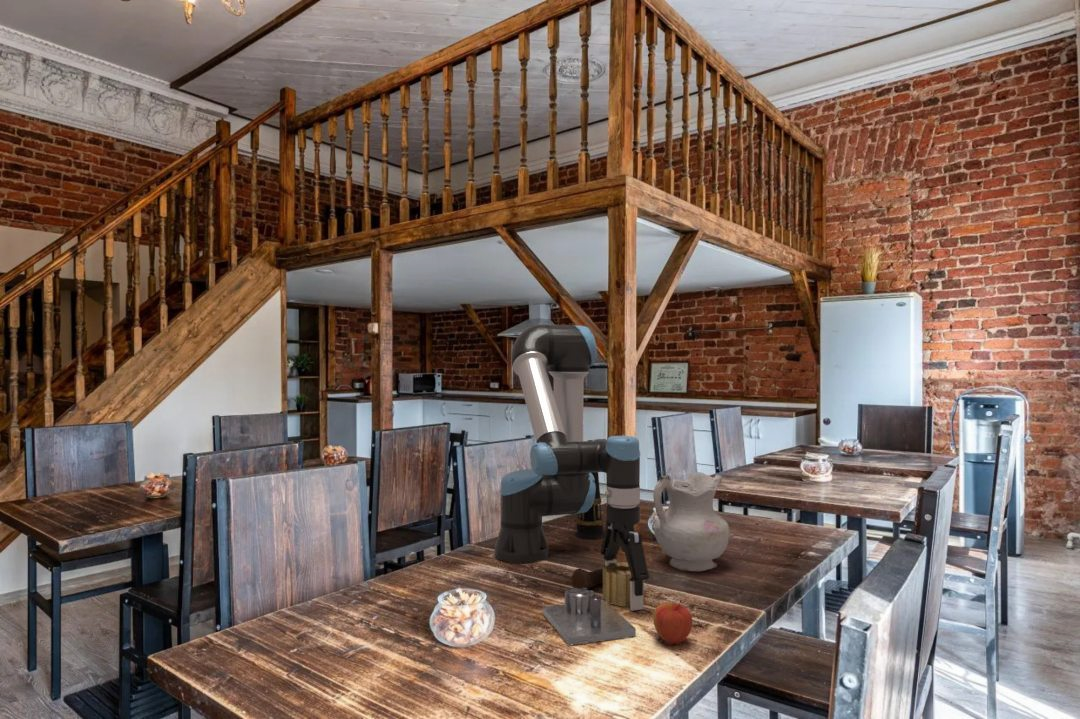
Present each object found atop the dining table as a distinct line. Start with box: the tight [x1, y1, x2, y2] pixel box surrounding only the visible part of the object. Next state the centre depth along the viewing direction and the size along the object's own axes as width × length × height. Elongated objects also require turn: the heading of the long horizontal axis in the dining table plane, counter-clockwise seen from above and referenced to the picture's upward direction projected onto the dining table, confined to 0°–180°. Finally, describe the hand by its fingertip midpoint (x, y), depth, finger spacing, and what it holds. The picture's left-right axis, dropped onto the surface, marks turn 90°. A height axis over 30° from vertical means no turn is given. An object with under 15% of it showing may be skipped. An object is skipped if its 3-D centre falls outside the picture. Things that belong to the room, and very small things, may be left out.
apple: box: [652, 599, 693, 645], centre depth 121 cm, size 7×7×8 cm
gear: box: [602, 561, 645, 607], centre depth 142 cm, size 9×9×7 cm
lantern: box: [574, 439, 605, 541], centre depth 196 cm, size 9×9×30 cm
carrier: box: [542, 587, 637, 646], centre depth 128 cm, size 16×14×7 cm
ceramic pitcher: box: [652, 471, 730, 573], centre depth 167 cm, size 22×20×25 cm
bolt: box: [571, 564, 605, 591], centre depth 152 cm, size 6×5×15 cm
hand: (623, 598), depth 142 cm, fingers open, 13 cm apart
